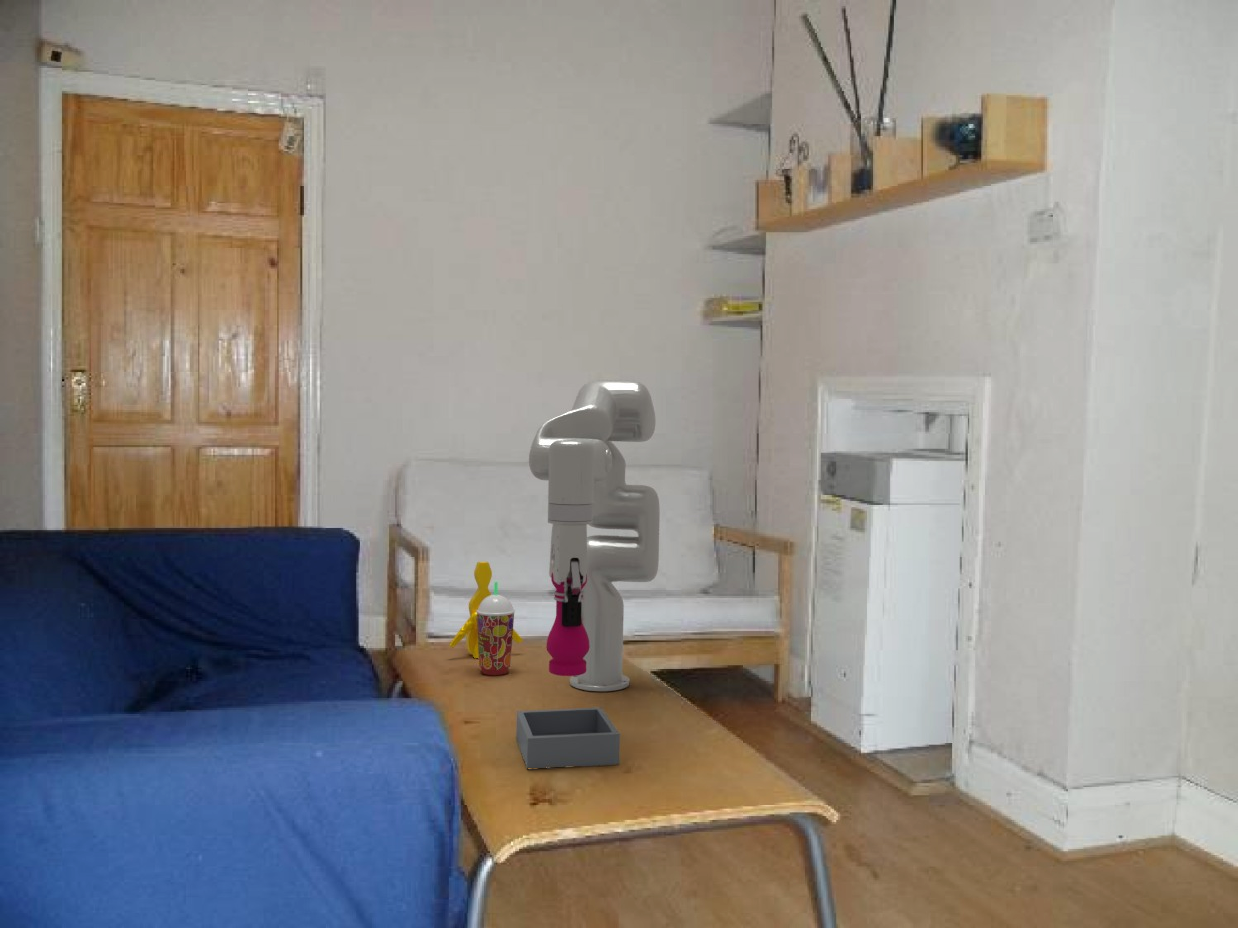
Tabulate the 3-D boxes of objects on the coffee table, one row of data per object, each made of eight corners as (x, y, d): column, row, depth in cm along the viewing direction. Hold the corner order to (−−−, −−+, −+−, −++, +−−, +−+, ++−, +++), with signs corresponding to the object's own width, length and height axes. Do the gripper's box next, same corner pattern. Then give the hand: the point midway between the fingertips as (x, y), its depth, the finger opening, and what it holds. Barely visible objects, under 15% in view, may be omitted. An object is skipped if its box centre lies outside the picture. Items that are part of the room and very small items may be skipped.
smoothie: (470, 669, 218) (472, 580, 217) (506, 666, 221) (508, 578, 220) (481, 678, 210) (483, 586, 209) (518, 675, 214) (520, 584, 213)
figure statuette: (450, 662, 224) (451, 566, 223) (443, 654, 231) (444, 561, 230) (525, 656, 231) (526, 563, 230) (515, 649, 238) (517, 559, 237)
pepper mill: (550, 678, 159) (552, 555, 159) (542, 667, 166) (544, 550, 166) (593, 675, 161) (596, 555, 161) (583, 665, 168) (585, 549, 168)
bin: (516, 739, 170) (516, 711, 170) (600, 735, 173) (601, 707, 173) (527, 769, 156) (527, 738, 155) (619, 764, 159) (619, 733, 159)
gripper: (540, 509, 170) (539, 613, 171) (555, 519, 154) (553, 634, 155) (583, 509, 172) (581, 612, 173) (602, 519, 155) (600, 632, 156)
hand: (568, 621), depth 164 cm, fingers closed on pepper mill, 5 cm apart
